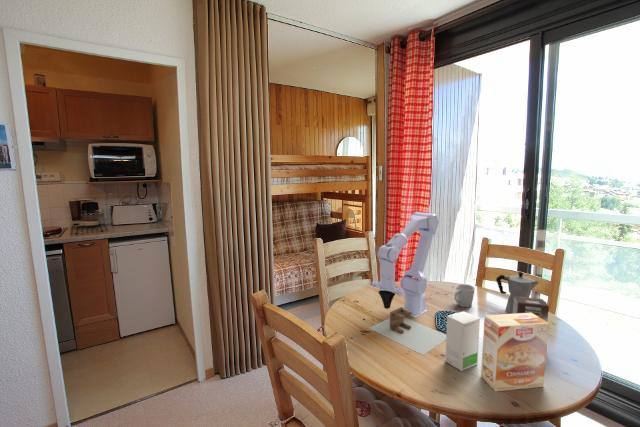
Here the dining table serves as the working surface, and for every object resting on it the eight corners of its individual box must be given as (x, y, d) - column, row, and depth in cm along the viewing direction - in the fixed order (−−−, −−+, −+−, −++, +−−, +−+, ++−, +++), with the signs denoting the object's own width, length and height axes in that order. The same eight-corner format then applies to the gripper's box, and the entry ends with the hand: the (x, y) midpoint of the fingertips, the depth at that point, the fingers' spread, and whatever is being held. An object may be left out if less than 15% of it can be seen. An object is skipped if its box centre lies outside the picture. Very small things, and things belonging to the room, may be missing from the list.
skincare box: (461, 372, 96) (463, 324, 94) (443, 360, 102) (445, 315, 100) (478, 364, 100) (481, 317, 98) (461, 353, 106) (463, 309, 103)
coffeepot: (535, 311, 135) (539, 271, 133) (537, 320, 127) (540, 278, 125) (495, 304, 143) (497, 266, 140) (494, 312, 135) (496, 272, 132)
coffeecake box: (495, 392, 87) (499, 326, 84) (479, 375, 94) (483, 314, 91) (545, 387, 88) (550, 322, 86) (526, 371, 95) (530, 311, 93)
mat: (396, 314, 134) (396, 314, 134) (450, 337, 116) (450, 336, 116) (368, 328, 123) (368, 328, 123) (423, 355, 105) (423, 355, 105)
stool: (389, 329, 122) (390, 312, 121) (400, 323, 126) (401, 307, 125) (401, 334, 118) (401, 316, 117) (411, 328, 122) (412, 311, 121)
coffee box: (514, 346, 109) (517, 302, 107) (510, 337, 115) (512, 295, 113) (545, 350, 106) (549, 305, 104) (539, 341, 112) (542, 298, 110)
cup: (477, 306, 141) (478, 288, 140) (461, 310, 137) (462, 292, 136) (463, 300, 148) (464, 283, 147) (448, 304, 144) (448, 286, 143)
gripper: (367, 273, 128) (366, 304, 129) (396, 282, 116) (395, 317, 118) (378, 269, 132) (378, 300, 134) (407, 278, 121) (406, 311, 123)
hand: (387, 307), depth 126 cm, fingers closed
